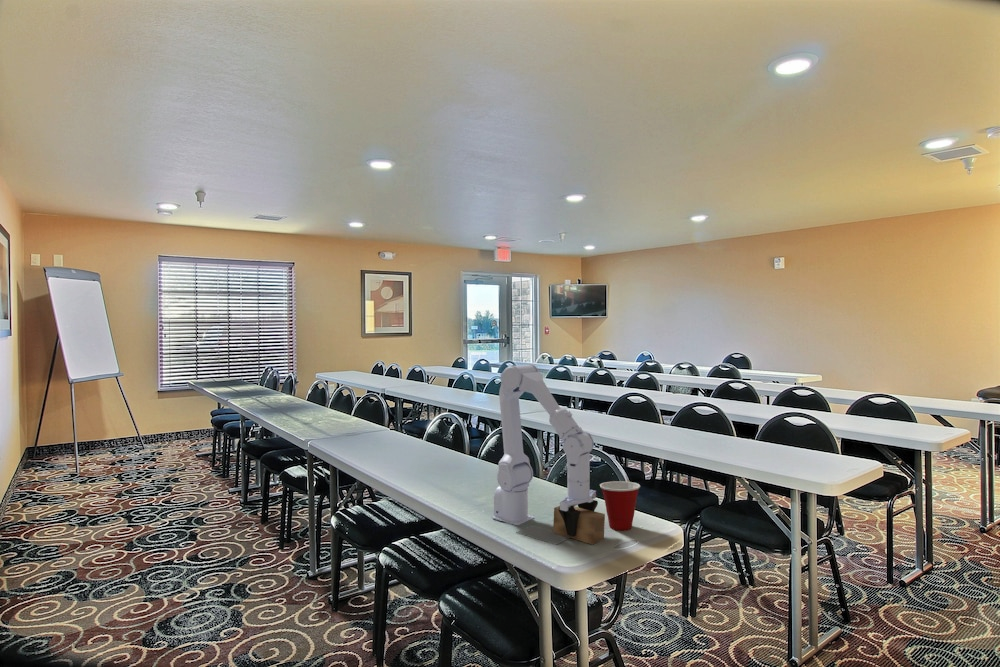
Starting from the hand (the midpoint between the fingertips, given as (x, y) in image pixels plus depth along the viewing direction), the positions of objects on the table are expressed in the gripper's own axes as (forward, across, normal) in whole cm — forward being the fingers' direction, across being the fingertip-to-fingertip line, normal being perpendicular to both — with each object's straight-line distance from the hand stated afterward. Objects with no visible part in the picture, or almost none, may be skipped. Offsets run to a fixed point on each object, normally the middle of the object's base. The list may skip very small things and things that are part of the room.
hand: (578, 531), depth 144 cm
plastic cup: (+2, +13, -5) cm, 14 cm away
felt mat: (+1, -5, +8) cm, 9 cm away
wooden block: (+1, 0, 0) cm, 1 cm away
